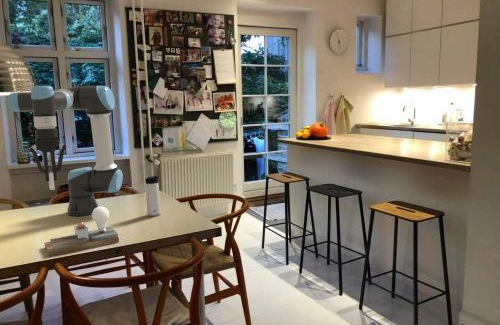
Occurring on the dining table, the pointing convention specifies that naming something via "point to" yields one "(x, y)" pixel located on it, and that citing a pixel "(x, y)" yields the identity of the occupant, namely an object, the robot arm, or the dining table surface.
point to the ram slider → (81, 231)
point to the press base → (81, 242)
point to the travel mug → (152, 196)
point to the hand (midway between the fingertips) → (52, 189)
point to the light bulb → (100, 217)
